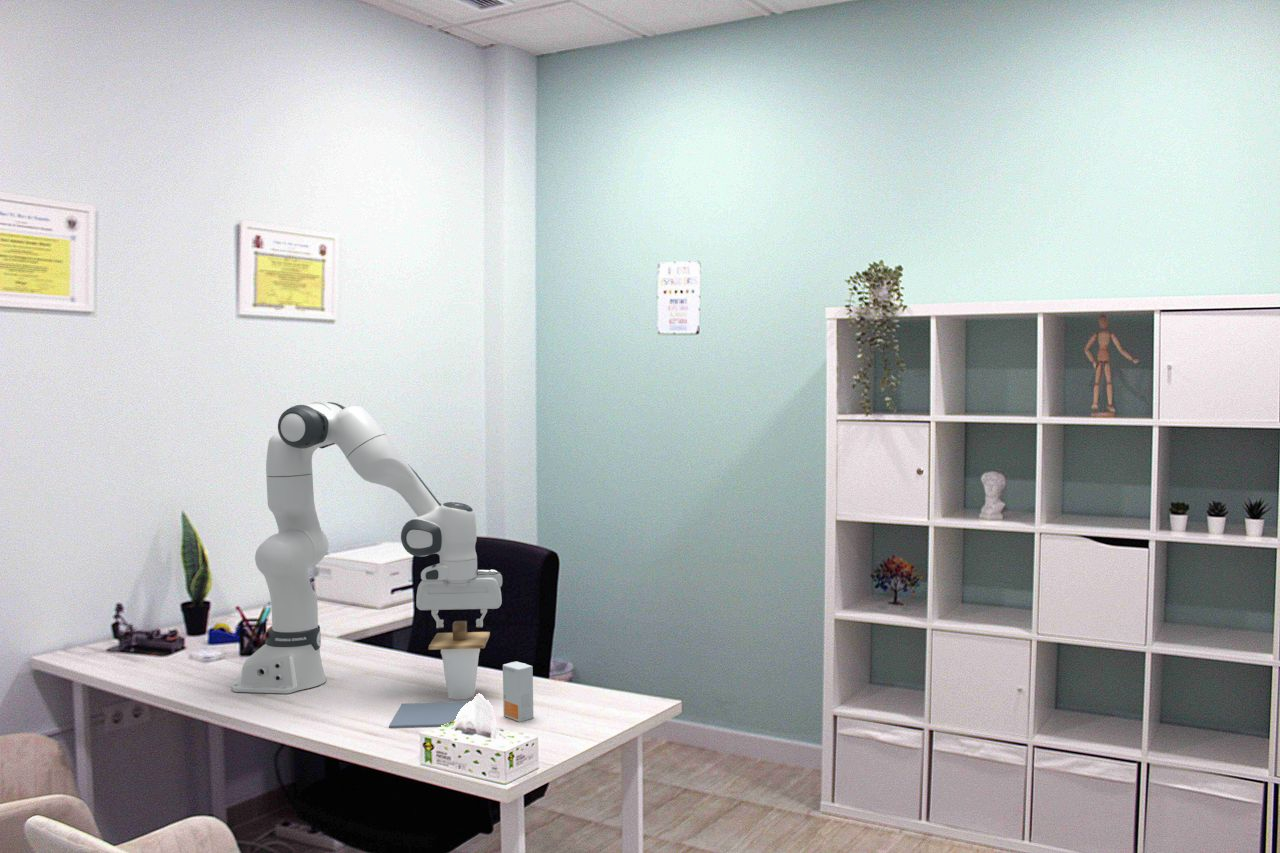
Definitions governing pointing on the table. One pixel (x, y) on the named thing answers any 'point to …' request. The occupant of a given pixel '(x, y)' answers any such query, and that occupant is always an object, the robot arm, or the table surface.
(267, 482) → the robot arm
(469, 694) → the foam cup
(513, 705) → the skincare box
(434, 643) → the oak lid
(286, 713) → the table surface
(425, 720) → the slate mat
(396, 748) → the table surface
